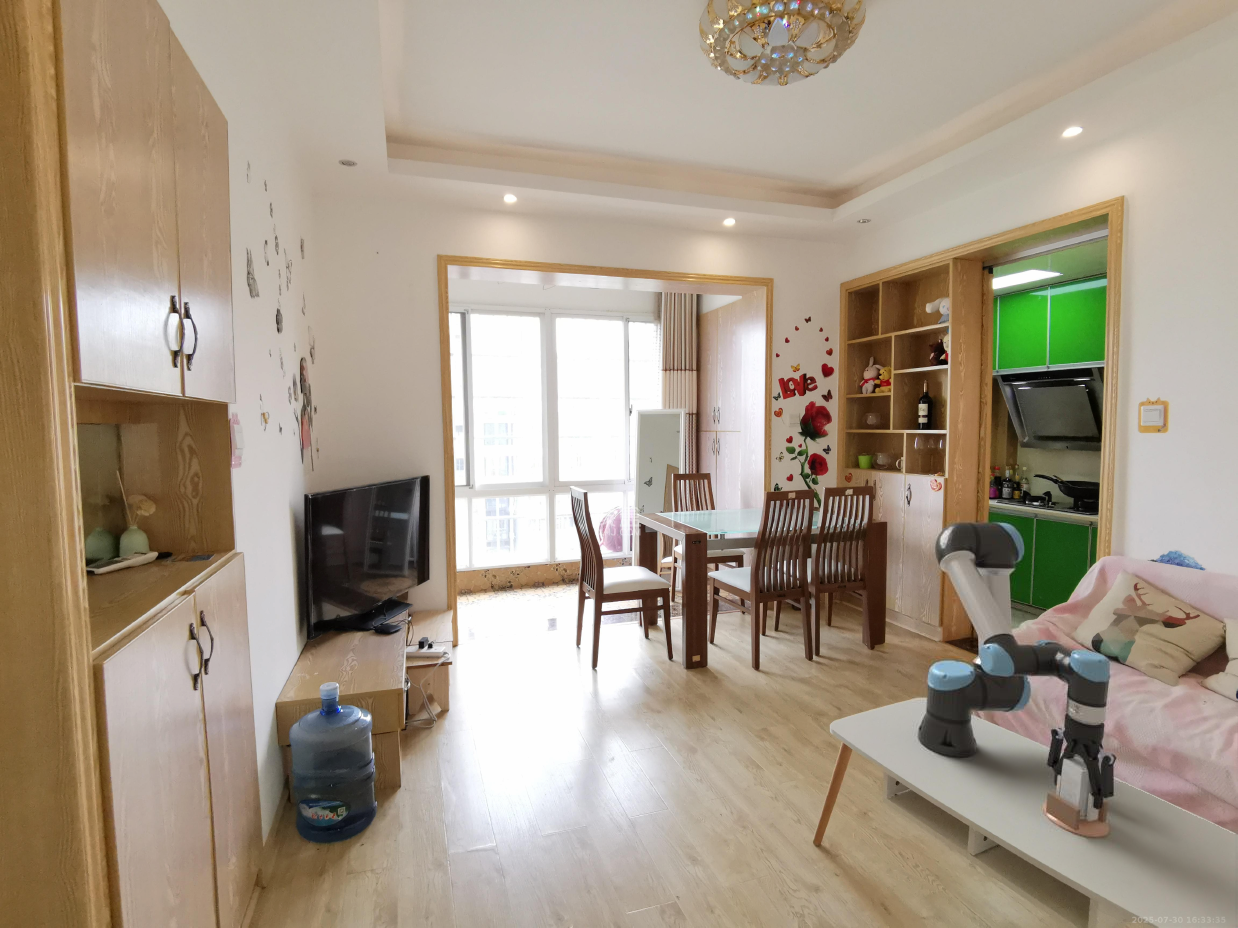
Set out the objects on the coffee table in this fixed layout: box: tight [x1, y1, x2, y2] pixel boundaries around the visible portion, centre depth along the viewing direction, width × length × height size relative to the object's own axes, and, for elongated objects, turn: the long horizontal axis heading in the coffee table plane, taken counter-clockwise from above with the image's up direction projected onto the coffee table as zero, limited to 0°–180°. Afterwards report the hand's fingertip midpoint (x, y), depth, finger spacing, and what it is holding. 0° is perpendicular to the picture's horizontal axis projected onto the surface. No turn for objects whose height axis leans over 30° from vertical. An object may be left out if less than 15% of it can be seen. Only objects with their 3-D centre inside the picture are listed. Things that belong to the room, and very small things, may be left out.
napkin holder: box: [1042, 791, 1111, 839], centre depth 151 cm, size 13×13×6 cm
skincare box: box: [1059, 757, 1092, 819], centre depth 151 cm, size 6×4×12 cm
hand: (1076, 809), depth 151 cm, fingers closed on skincare box, 7 cm apart
